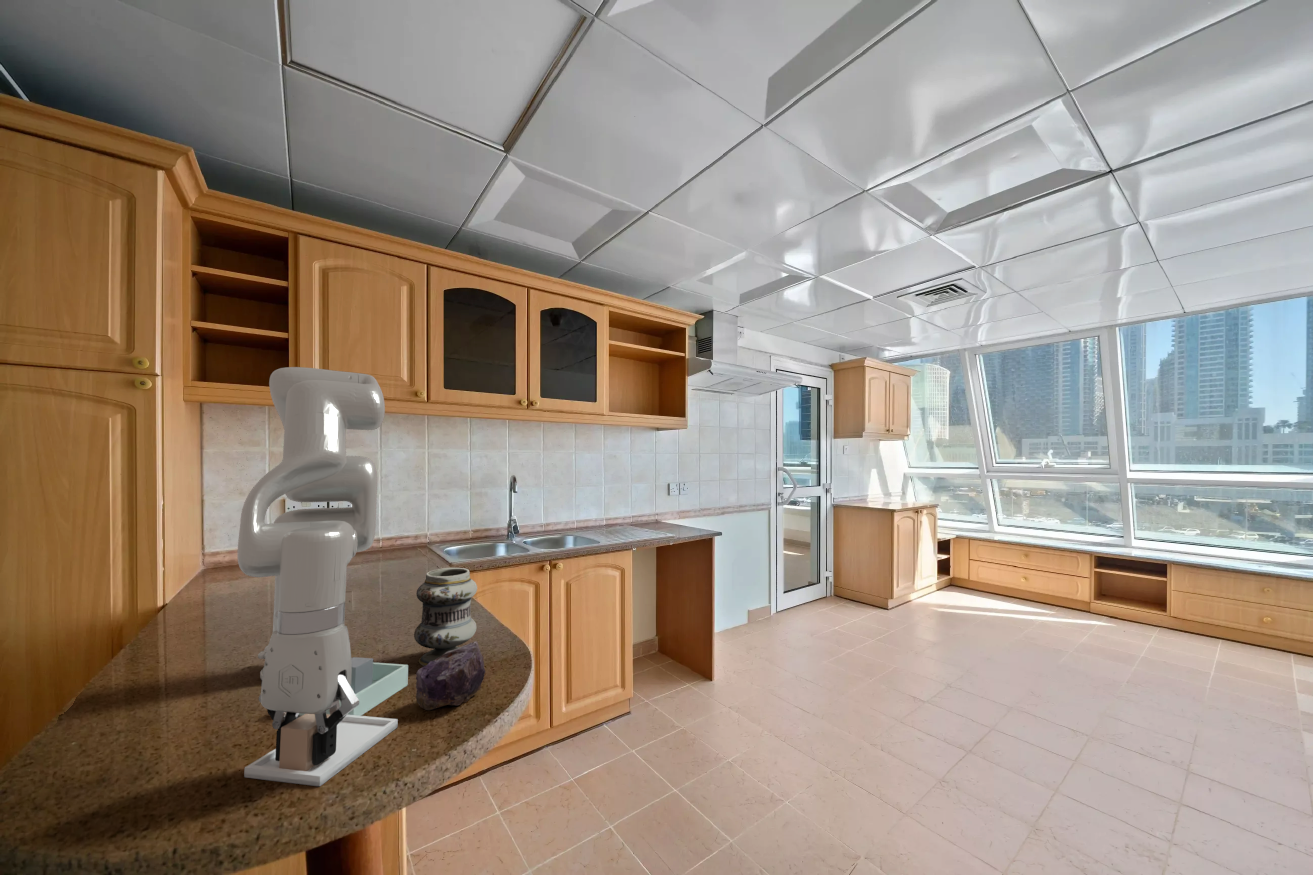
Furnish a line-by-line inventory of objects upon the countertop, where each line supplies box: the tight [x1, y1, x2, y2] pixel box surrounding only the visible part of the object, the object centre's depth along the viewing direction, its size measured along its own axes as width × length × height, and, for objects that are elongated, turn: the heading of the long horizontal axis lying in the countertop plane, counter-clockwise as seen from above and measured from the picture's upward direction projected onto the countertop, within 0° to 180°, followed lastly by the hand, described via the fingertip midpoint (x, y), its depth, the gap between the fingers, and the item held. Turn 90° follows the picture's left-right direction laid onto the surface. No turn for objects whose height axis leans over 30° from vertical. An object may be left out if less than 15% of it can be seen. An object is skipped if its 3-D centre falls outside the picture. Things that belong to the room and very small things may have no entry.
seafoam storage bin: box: [298, 661, 409, 717], centre depth 83 cm, size 13×13×4 cm
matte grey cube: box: [351, 656, 374, 694], centre depth 84 cm, size 4×4×5 cm
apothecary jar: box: [413, 567, 478, 667], centre depth 102 cm, size 12×12×18 cm
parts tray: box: [243, 715, 399, 787], centre depth 68 cm, size 11×14×1 cm
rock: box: [415, 641, 486, 711], centre depth 83 cm, size 12×9×10 cm
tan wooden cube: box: [279, 714, 330, 771], centre depth 65 cm, size 4×4×5 cm
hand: (306, 755), depth 65 cm, fingers open, 4 cm apart
